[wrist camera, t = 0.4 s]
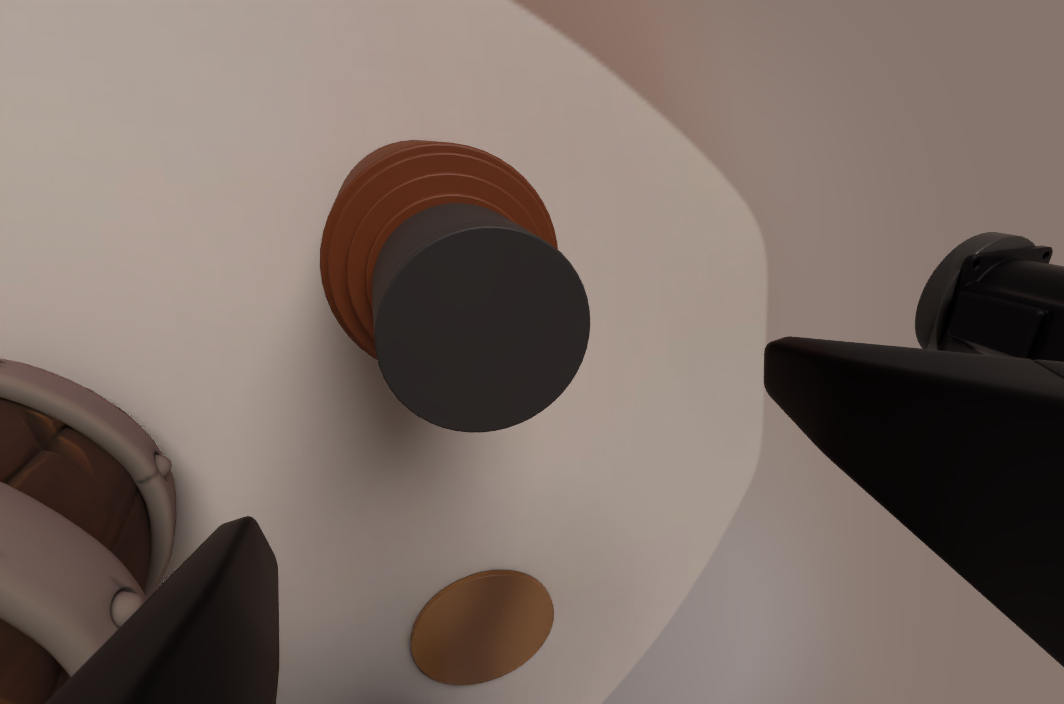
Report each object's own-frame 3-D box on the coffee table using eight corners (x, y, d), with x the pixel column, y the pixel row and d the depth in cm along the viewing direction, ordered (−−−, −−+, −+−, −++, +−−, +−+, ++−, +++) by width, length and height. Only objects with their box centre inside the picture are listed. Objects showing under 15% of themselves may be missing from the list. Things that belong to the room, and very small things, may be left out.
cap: (538, 197, 12) (596, 217, 9) (542, 353, 14) (592, 414, 11) (358, 208, 11) (356, 235, 8) (384, 376, 13) (390, 450, 10)
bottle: (497, 137, 20) (646, 138, 9) (505, 298, 22) (630, 441, 12) (318, 143, 18) (258, 153, 8) (349, 317, 21) (334, 501, 10)
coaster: (550, 554, 29) (553, 559, 28) (552, 655, 32) (554, 661, 31) (401, 591, 27) (402, 597, 26) (419, 695, 30) (420, 702, 29)
